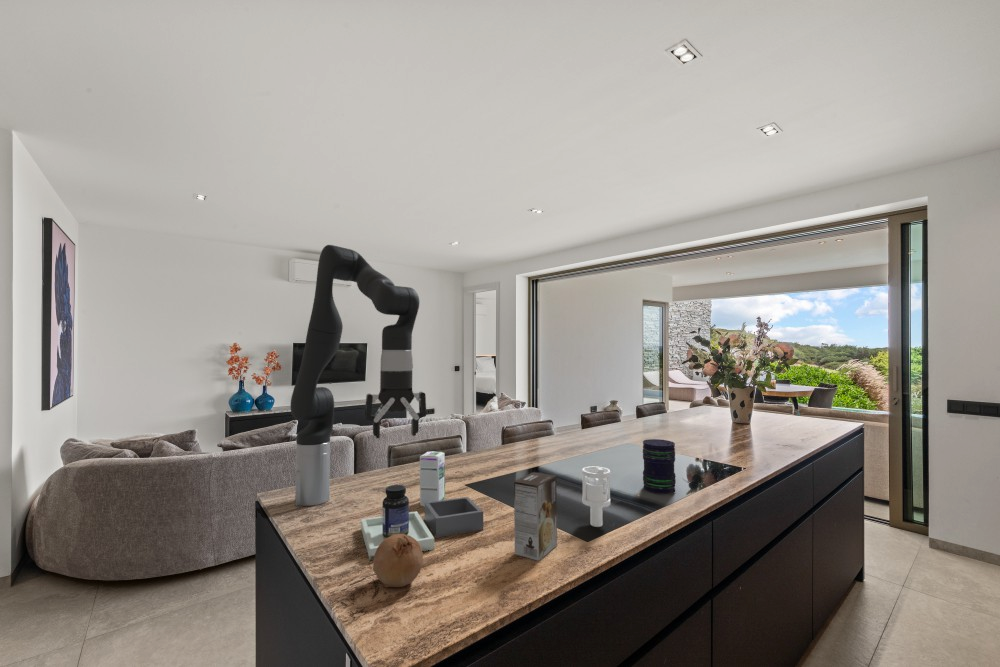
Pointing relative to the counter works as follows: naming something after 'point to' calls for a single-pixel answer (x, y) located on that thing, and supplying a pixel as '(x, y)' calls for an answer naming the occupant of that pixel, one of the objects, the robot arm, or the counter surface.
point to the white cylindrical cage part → (596, 492)
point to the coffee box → (535, 515)
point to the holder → (453, 516)
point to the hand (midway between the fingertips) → (395, 436)
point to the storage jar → (659, 466)
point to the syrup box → (432, 477)
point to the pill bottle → (395, 511)
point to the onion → (398, 560)
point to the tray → (374, 538)
